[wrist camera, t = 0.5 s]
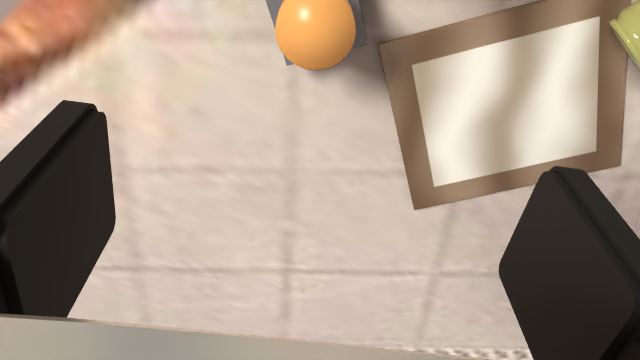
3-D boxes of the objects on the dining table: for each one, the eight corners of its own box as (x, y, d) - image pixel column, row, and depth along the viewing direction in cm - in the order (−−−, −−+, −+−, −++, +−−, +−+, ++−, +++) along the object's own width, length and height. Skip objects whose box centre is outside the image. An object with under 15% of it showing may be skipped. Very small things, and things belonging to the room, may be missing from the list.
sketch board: (627, -24, 34) (632, -22, 33) (617, 162, 42) (621, 165, 41) (378, 43, 36) (379, 46, 36) (413, 206, 44) (414, 210, 44)
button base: (346, -54, 33) (348, -45, 30) (365, 30, 36) (368, 43, 33) (264, -29, 34) (259, -19, 31) (289, 50, 36) (287, 65, 34)
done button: (343, -28, 29) (344, -21, 27) (361, 47, 31) (363, 58, 30) (267, -6, 30) (264, 2, 28) (290, 66, 32) (289, 78, 30)
